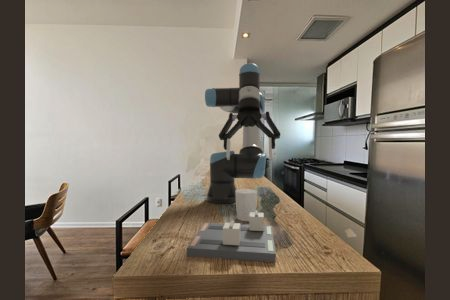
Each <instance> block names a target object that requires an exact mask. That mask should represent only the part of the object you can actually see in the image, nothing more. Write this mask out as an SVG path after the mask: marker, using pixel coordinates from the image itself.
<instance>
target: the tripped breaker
mask: <svg viewBox="0 0 450 300" xmlns="http://www.w3.org/2000/svg"><path fill="white" fill-rule="evenodd" d="M224 223H225V224H224V226H223V244H224V245H239V244H240V239H241V222H240V223H239V222H238V223H237V222H235V220H231V221H230V222H224Z"/></svg>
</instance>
